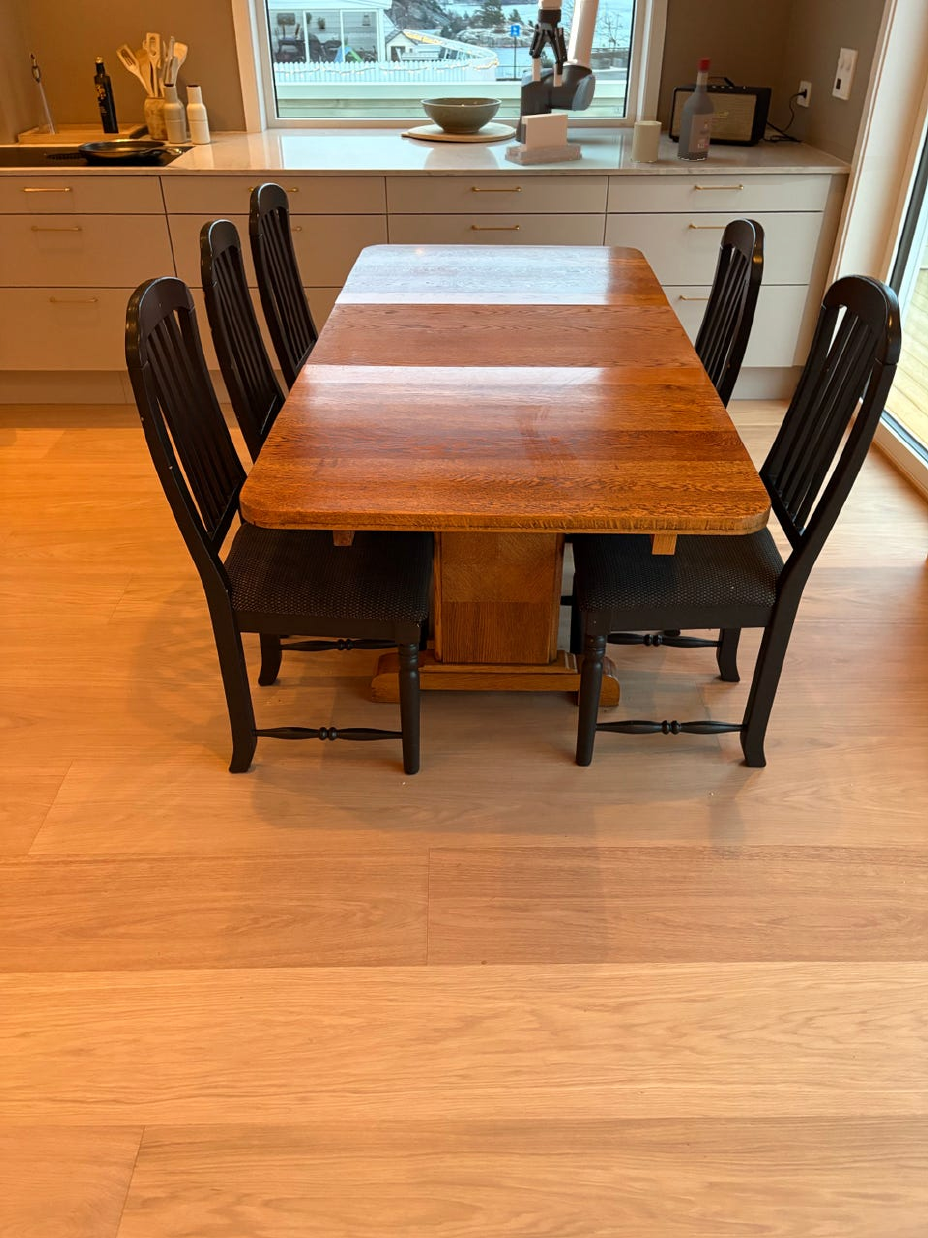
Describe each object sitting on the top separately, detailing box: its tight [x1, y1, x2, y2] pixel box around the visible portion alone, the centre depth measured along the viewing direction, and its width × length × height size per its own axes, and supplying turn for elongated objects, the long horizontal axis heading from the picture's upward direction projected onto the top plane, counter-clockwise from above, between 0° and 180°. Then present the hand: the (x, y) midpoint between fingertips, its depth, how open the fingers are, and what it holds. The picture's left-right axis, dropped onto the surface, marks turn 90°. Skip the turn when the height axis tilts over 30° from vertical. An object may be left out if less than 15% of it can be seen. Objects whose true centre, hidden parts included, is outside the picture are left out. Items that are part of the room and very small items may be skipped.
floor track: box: [504, 141, 583, 166], centre depth 326 cm, size 24×12×4 cm, turn 118°
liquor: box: [677, 57, 715, 160], centre depth 319 cm, size 9×9×30 cm
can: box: [630, 120, 662, 163], centre depth 322 cm, size 9×9×12 cm
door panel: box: [520, 112, 569, 151], centre depth 323 cm, size 17×4×12 cm, turn 118°
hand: (546, 83), depth 315 cm, fingers open, 13 cm apart
